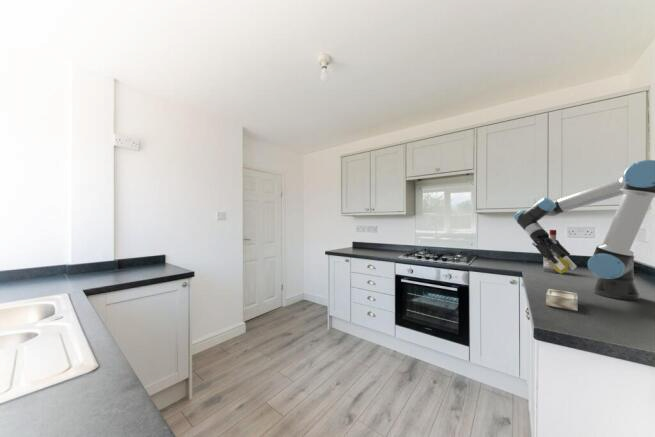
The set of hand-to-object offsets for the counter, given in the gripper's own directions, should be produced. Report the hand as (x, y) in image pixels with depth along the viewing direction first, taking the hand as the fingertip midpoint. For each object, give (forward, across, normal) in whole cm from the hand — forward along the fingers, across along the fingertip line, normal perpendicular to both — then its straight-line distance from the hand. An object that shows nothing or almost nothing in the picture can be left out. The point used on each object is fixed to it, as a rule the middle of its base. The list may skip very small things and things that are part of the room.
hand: (568, 268), depth 124 cm
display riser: (+16, +13, -4) cm, 21 cm away
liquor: (-28, -49, -48) cm, 74 cm away
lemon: (0, 0, -5) cm, 5 cm away
